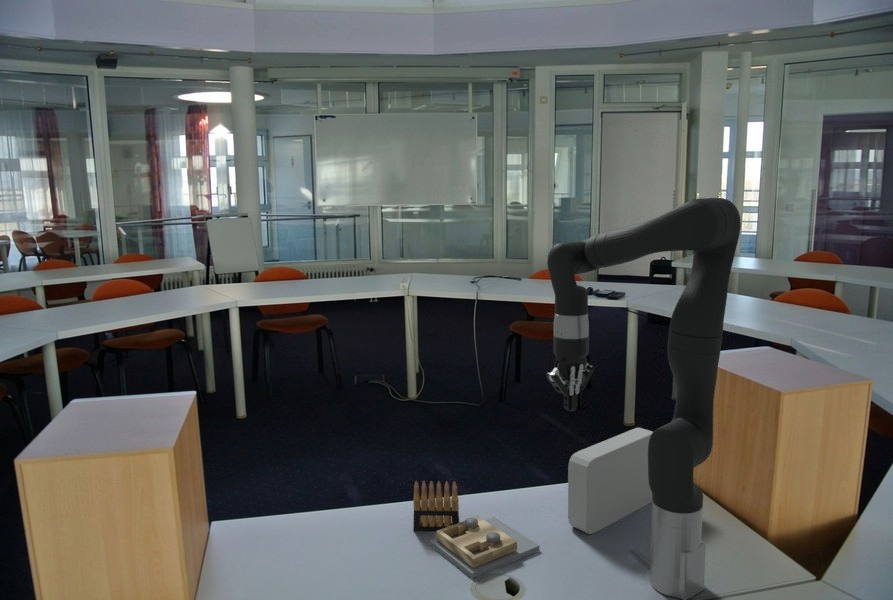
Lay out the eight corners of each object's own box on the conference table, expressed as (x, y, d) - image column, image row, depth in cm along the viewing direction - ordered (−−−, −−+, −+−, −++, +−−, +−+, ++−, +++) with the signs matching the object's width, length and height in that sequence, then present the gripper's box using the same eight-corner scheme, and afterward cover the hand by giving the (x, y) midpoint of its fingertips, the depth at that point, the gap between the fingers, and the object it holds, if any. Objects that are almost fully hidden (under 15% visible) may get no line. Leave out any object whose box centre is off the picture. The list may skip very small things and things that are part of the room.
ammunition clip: (413, 531, 154) (411, 482, 152) (414, 527, 156) (412, 479, 154) (459, 531, 153) (458, 482, 151) (459, 527, 155) (458, 479, 153)
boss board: (539, 550, 144) (539, 530, 144) (472, 578, 134) (472, 556, 134) (494, 521, 157) (493, 502, 157) (430, 545, 148) (429, 525, 147)
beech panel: (517, 550, 142) (517, 541, 142) (473, 567, 136) (473, 558, 135) (478, 524, 153) (478, 515, 153) (436, 539, 147) (436, 530, 147)
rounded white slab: (633, 488, 173) (634, 422, 170) (659, 498, 167) (661, 430, 164) (559, 525, 155) (560, 452, 152) (585, 538, 149) (586, 462, 146)
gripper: (560, 341, 138) (560, 421, 141) (605, 332, 145) (604, 408, 148) (536, 335, 144) (536, 411, 147) (580, 326, 151) (579, 400, 154)
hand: (570, 410), depth 147 cm, fingers closed
